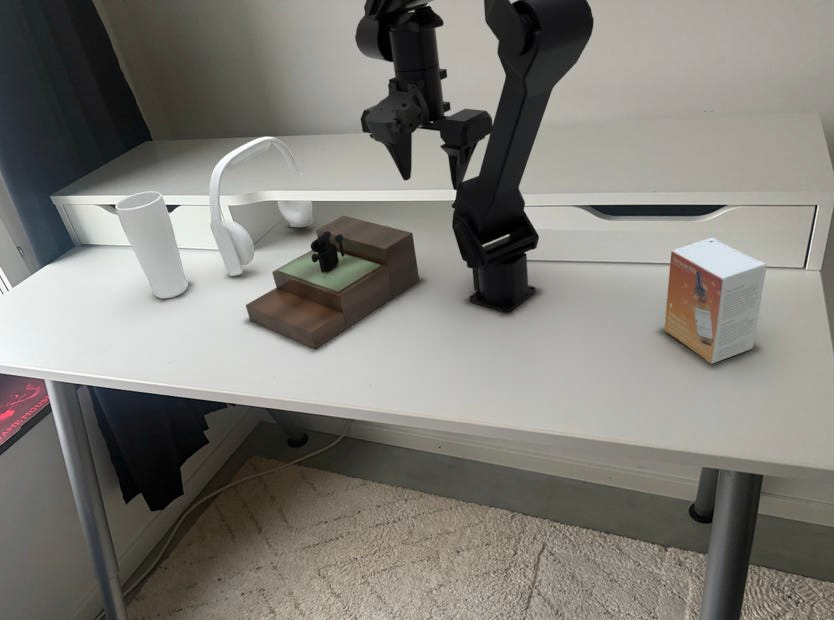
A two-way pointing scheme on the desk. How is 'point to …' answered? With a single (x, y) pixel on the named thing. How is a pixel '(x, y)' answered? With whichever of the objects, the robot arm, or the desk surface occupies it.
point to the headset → (232, 235)
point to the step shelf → (338, 283)
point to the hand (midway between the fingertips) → (431, 184)
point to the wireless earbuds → (326, 251)
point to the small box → (714, 299)
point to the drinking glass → (153, 242)
